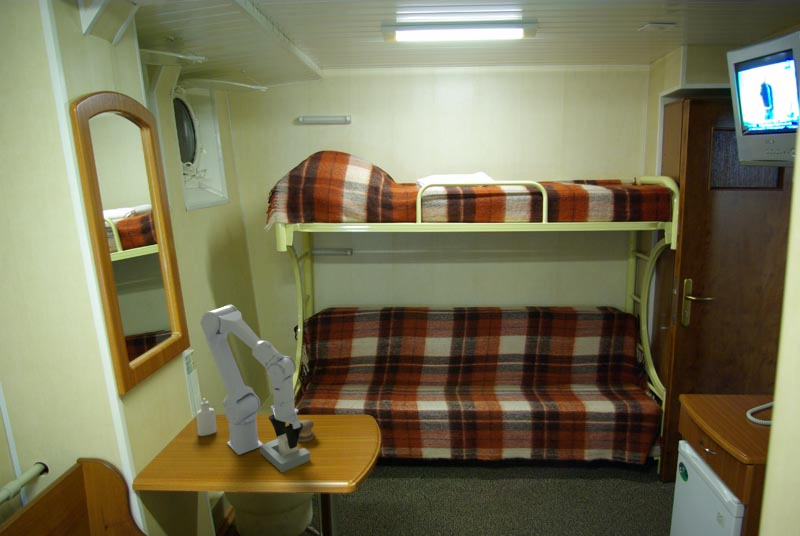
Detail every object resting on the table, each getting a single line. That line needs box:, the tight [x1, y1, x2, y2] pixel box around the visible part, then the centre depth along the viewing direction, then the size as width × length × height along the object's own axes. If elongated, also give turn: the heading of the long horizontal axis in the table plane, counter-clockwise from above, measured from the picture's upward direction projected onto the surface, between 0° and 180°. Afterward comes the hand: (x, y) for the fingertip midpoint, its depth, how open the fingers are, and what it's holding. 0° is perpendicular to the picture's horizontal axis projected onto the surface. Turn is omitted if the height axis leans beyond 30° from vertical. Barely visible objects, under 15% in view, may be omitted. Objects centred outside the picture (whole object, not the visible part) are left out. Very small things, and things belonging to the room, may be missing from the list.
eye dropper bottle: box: [195, 397, 217, 437], centre depth 159 cm, size 4×6×12 cm
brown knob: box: [298, 419, 315, 443], centre depth 154 cm, size 6×6×4 cm
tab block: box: [277, 434, 298, 457], centre depth 144 cm, size 4×4×6 cm
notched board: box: [259, 438, 311, 473], centre depth 144 cm, size 14×9×2 cm, turn 40°
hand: (287, 442), depth 144 cm, fingers open, 7 cm apart
